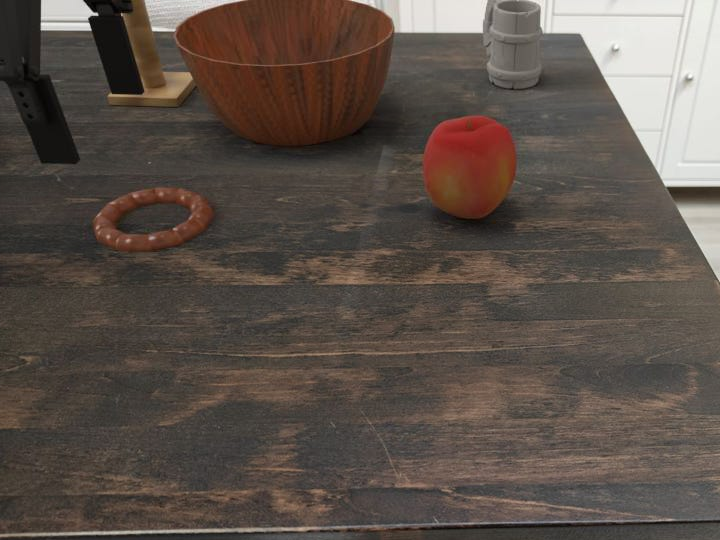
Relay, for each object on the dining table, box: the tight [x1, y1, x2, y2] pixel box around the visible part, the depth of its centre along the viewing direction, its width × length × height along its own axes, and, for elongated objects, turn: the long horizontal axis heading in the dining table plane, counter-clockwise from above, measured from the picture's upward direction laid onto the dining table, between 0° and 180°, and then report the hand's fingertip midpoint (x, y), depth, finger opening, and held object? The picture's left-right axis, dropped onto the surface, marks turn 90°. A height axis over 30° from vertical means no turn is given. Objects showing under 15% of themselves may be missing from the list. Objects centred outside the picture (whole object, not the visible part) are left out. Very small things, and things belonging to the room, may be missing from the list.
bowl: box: [172, 0, 396, 147], centre depth 90 cm, size 25×25×11 cm
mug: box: [482, 0, 544, 90], centre depth 103 cm, size 8×12×12 cm, turn 31°
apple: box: [422, 115, 518, 220], centre depth 74 cm, size 10×10×10 cm
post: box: [107, 0, 197, 108], centre depth 94 cm, size 9×9×16 cm
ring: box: [92, 186, 215, 252], centre depth 73 cm, size 11×11×2 cm
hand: (97, 125), depth 62 cm, fingers open, 13 cm apart
